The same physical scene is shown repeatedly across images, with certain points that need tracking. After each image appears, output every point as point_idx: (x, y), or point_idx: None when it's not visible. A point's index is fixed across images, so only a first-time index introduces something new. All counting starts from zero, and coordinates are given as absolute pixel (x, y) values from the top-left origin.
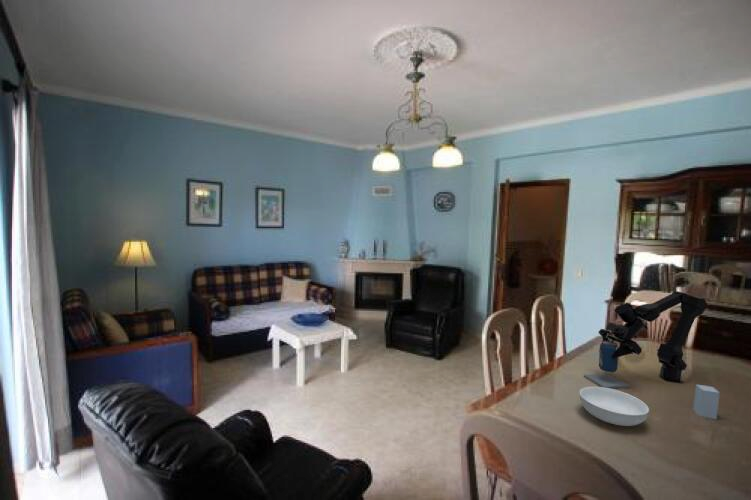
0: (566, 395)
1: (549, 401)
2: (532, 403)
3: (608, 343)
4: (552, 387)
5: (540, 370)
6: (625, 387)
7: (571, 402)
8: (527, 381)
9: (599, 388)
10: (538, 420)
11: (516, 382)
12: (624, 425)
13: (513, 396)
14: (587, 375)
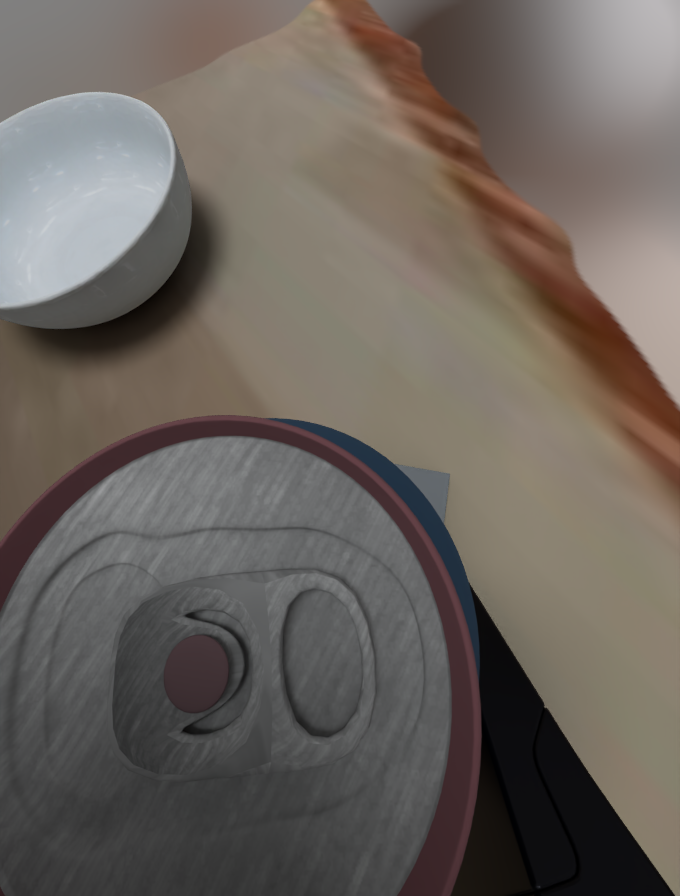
0: (298, 232)
1: (285, 151)
2: (295, 99)
3: (184, 580)
4: (378, 226)
5: (585, 296)
6: None
7: (248, 213)
8: (462, 167)
9: (145, 228)
10: (212, 71)
11: (463, 125)
12: (38, 222)
13: (358, 71)
14: (434, 488)
